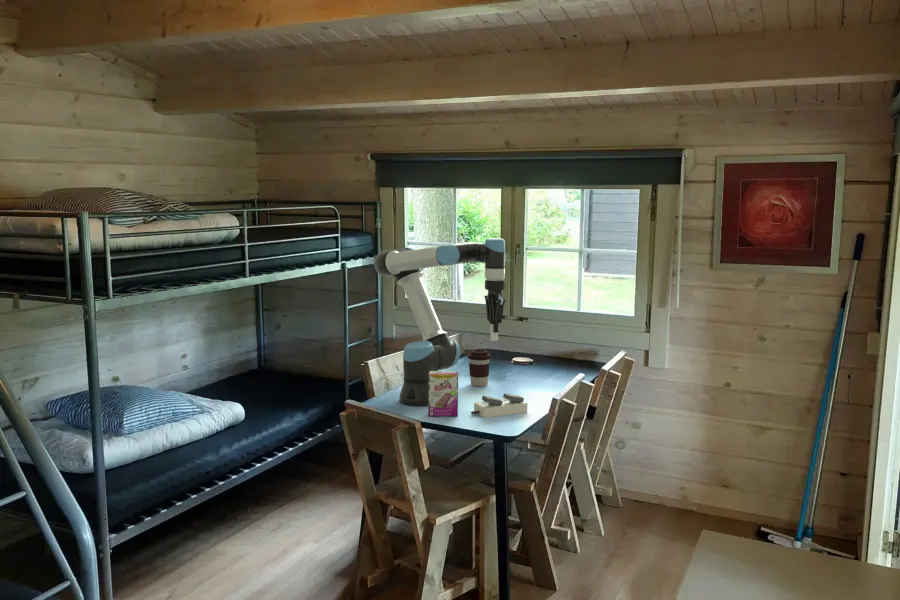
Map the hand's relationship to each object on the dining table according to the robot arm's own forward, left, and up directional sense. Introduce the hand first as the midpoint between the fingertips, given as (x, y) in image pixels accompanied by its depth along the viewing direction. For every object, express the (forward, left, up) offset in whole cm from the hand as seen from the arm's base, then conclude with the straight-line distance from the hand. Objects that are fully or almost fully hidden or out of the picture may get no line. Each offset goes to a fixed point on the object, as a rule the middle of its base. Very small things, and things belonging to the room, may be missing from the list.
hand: (494, 340), depth 280 cm
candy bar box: (-22, -2, -27) cm, 35 cm away
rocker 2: (+4, -9, -21) cm, 23 cm away
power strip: (-2, -7, -26) cm, 27 cm away
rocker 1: (-5, -9, -21) cm, 23 cm away
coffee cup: (+9, +32, -27) cm, 43 cm away
